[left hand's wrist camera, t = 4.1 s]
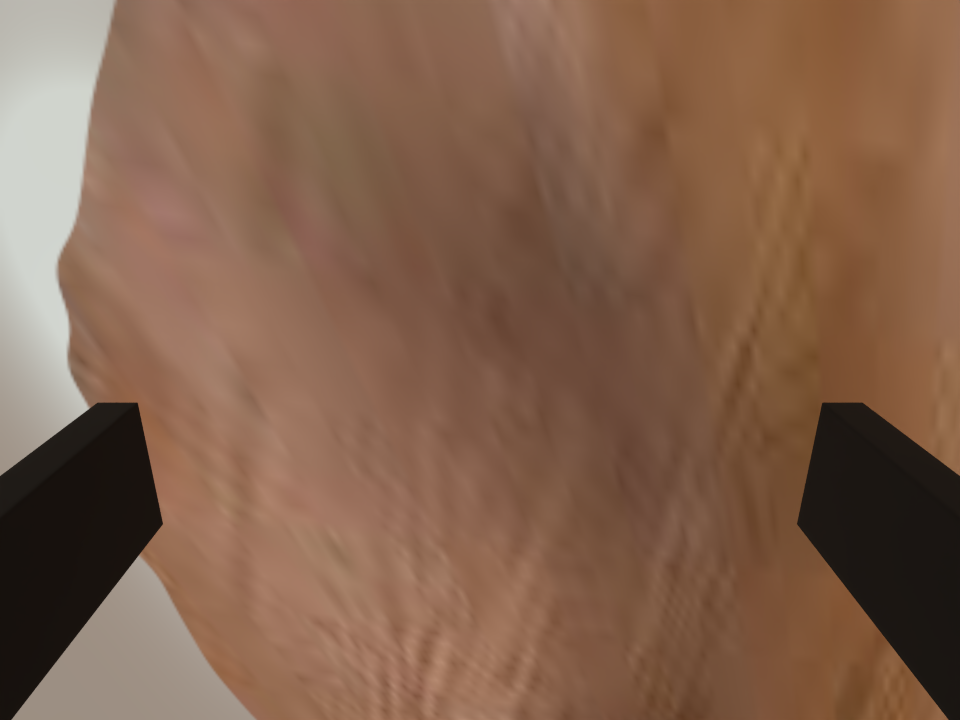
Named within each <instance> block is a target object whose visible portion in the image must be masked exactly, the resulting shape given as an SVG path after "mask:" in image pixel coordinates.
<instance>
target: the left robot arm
mask: <svg viewBox="0 0 960 720" xmlns="http://www.w3.org/2000/svg"><path fill="white" fill-rule="evenodd" d="M162 525H163V522H162V517H161V512H160V508H159V503H158V498H157V493H156V489H155V484H154V479H153V474H152V469H151V465H150V460H149V455H148V450H147V445H146V441H145V436H144V431H143V426H142V422H141V417H140V412H139V407H138V403H97V404H95V405H94V406H93V407H91V408H90V409H89V410H87V411H86V412H85V413H83V414H82V415H81V416H79V417H78V418H77V419H75V420H74V421H73V422H72V423H70V424H69V425H67V426H66V427H65V428H63V429H62V430H61V431H59V432H58V433H57V434H56V435H54V436H53V437H52V438H50V439H49V440H48V441H46V442H45V443H44V444H42V445H41V446H40V447H38V448H37V449H36V450H34V451H33V452H32V453H30V454H29V455H28V456H26V457H25V458H24V459H22V460H21V461H20V462H18V463H17V464H16V465H14V466H13V467H12V468H10V469H9V470H8V471H6V472H5V473H4V474H2V475H1V476H0V720H11V719H12V718H13V717H14V716H15V714H16V713H17V712H18V710H19V709H20V708H21V707H22V705H23V704H24V703H25V701H26V700H27V699H28V698H29V696H30V695H31V694H32V692H33V691H34V690H35V688H36V687H37V686H38V685H39V683H40V682H41V681H42V679H43V678H44V677H45V676H46V674H47V673H48V672H49V670H50V669H51V668H52V667H53V665H54V664H55V663H56V661H57V660H58V659H59V657H60V656H61V655H62V654H63V652H64V651H65V650H66V648H67V647H68V646H69V645H70V643H71V642H72V641H73V639H74V638H75V637H76V636H77V634H78V633H79V632H80V630H81V629H82V628H83V627H84V625H85V624H86V623H87V621H88V620H89V619H90V617H91V616H92V615H93V614H94V612H95V611H96V610H97V608H98V607H99V606H100V604H101V603H102V602H103V601H104V599H105V598H106V597H107V595H108V594H109V593H110V592H111V590H112V589H113V588H114V586H115V585H116V584H117V583H118V581H119V580H120V579H121V577H122V576H123V575H124V574H125V572H126V571H127V570H128V568H129V567H130V566H131V565H132V563H133V562H134V561H135V559H136V558H137V557H138V556H139V554H140V553H141V552H142V550H143V549H144V548H145V547H146V545H147V544H148V543H149V541H150V540H151V539H152V537H153V536H154V535H155V534H156V532H157V531H158V530H159V528H160V527H161V526H162ZM797 525H798V526H799V527H800V528H801V530H802V531H803V532H804V534H805V535H806V536H807V537H808V539H809V540H810V541H811V543H812V544H813V545H814V547H815V548H816V549H817V550H818V552H819V553H820V554H821V556H822V557H823V558H824V559H825V561H826V562H827V563H828V565H829V566H830V567H831V568H832V570H833V571H834V572H835V574H836V575H837V576H838V577H839V579H840V580H841V581H842V583H843V584H844V585H845V587H846V588H847V589H848V590H849V592H850V593H851V594H852V596H853V597H854V598H855V599H856V601H857V602H858V603H859V605H860V606H861V607H862V608H863V610H864V611H865V612H866V614H867V615H868V616H869V617H870V619H871V620H872V621H873V623H874V624H875V625H876V627H877V628H878V629H879V630H880V632H881V633H882V634H883V636H884V637H885V638H886V639H887V641H888V642H889V643H890V645H891V646H892V647H893V648H894V650H895V651H896V652H897V654H898V655H899V656H900V658H901V659H902V660H903V661H904V663H905V664H906V665H907V667H908V668H909V669H910V670H911V672H912V673H913V674H914V676H915V677H916V678H917V679H918V681H919V682H920V683H921V685H922V686H923V687H924V688H925V690H926V691H927V692H928V694H929V695H930V696H931V698H932V699H933V700H934V701H935V703H936V704H937V705H938V707H939V708H940V709H941V710H942V712H943V713H944V714H945V716H946V717H947V718H948V719H949V720H960V476H959V475H958V474H956V473H955V472H954V471H952V470H951V469H950V468H948V467H947V466H946V465H944V464H943V463H942V462H940V461H939V460H938V459H936V458H935V457H934V456H932V455H931V454H930V453H928V452H927V451H926V450H924V449H923V448H922V447H920V446H919V445H918V444H916V443H915V442H914V441H913V440H911V439H910V438H909V437H907V436H906V435H905V434H903V433H902V432H901V431H899V430H898V429H897V428H895V427H894V426H893V425H891V424H890V423H889V422H887V421H886V420H885V419H883V418H882V417H881V416H879V415H878V414H877V413H875V412H874V411H873V410H871V409H870V408H869V407H867V406H866V405H865V404H863V403H822V407H821V412H820V417H819V421H818V426H817V431H816V436H815V441H814V445H813V450H812V455H811V460H810V465H809V469H808V474H807V479H806V484H805V489H804V493H803V498H802V503H801V508H800V512H799V517H798V522H797Z"/></svg>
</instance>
